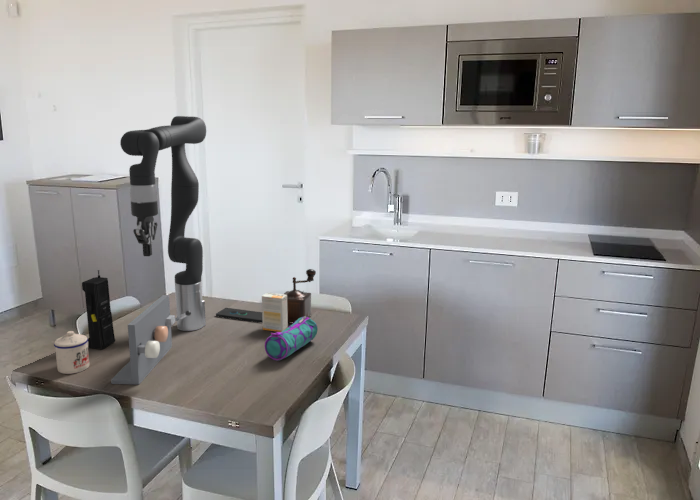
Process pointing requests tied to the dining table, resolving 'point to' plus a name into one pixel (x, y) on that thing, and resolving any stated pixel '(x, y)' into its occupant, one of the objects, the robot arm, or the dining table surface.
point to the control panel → (140, 335)
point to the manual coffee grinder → (299, 299)
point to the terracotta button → (160, 333)
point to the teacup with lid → (72, 353)
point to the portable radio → (98, 312)
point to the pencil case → (290, 338)
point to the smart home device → (240, 314)
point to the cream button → (150, 349)
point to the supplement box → (274, 312)
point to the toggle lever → (183, 315)
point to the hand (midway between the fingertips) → (147, 255)
